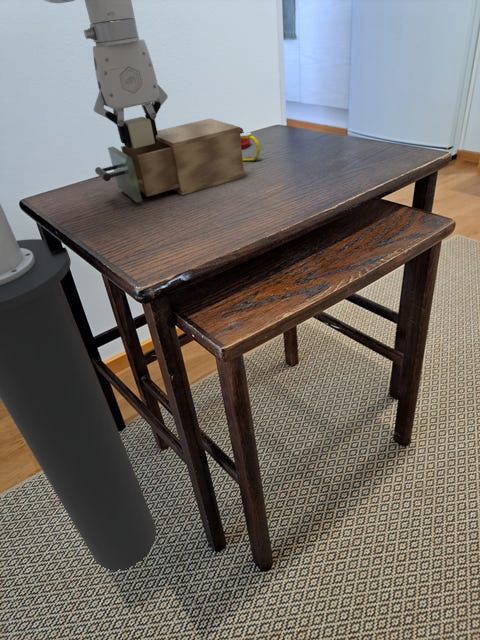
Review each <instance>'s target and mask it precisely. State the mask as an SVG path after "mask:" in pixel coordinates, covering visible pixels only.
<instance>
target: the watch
mask: <svg viewBox="0 0 480 640" xmlns="http://www.w3.org/2000/svg"><path fill="white" fill-rule="evenodd" d="M240 138H241V139H245V138H249V139H250V140H251V141H252V142H253V144H254V145H255V147H256V153H255V156H254V157H245V156H243V155H242V158H243V162H248V161H249V162H253V161H255V160H257V158H258V157H259V156H260V154H261V144H260V141H259V140H258V138H257V137H255V135H252V132H244V133H242V134H240Z"/></svg>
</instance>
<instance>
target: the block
mask: <svg viewBox="0 0 480 640" xmlns="http://www.w3.org/2000/svg"><path fill="white" fill-rule="evenodd" d="M124 122H125V125H127V127H128V131H129V135H130V139H131V143H132V148H134V149H135V148H139V147H143V146H147V145H151V144H155V140H154V135H153V131H152V126H151V121H150V119H147V118H146V117H144V116H139V117H133V118H130V119H124Z"/></svg>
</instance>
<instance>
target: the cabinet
mask: <svg viewBox="0 0 480 640" xmlns="http://www.w3.org/2000/svg"><path fill="white" fill-rule="evenodd" d="M231 124H232V123H231ZM231 124H230V123H227V122H223V121H222V120H221V121H220V120H217V119H214V118H206V119H201V120H197V121H194V122H189V123H184V124H179V125H176V126H172V127H166V128H163V129H159V130H158V129H157V133H158V135H156V139H157V140H158V141H161V142H163V143H165V144H167V145H169V146H172V149H173V155H174V160H175V165H176V171H177V176H178V181H179V188H176V189H173V191H174V192H177V193H178V194H180V195H181V196H184V195H188V194H191V193H195V192H198V191H201V190H204V189H208V188H211V187H214V186H215V187H216V186H218V185H222V184H226V183H229V182H232V181H235V180H238V179H242V178H245V169H244V161H243V158H242V156H243V148H241V138H240V128H241V127H240V126H238V125H234V124H232V125H231ZM239 127H240V128H239Z"/></svg>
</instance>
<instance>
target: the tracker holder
mask: <svg viewBox="0 0 480 640" xmlns="http://www.w3.org/2000/svg"><path fill="white" fill-rule="evenodd" d="M231 125H233V124H232V123H231ZM238 127H239V128H240V134H242V133H245V131H244V129H243V128H242V127H241V126H238ZM250 144H251V139H250V138H245V139H241V148H242V149H246V148H248V147H249V146H250Z"/></svg>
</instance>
